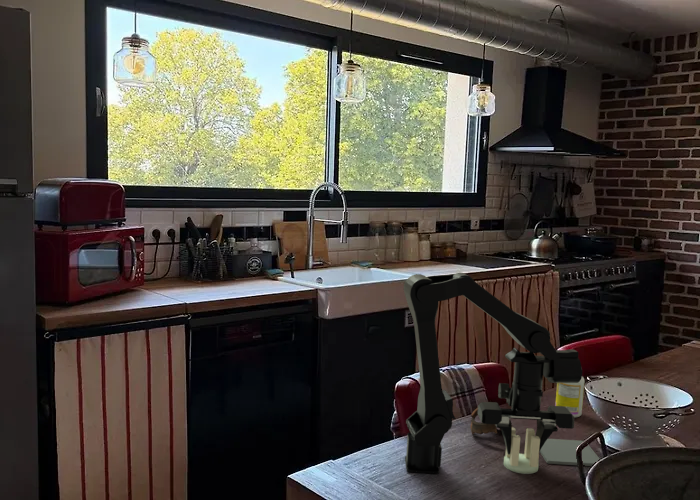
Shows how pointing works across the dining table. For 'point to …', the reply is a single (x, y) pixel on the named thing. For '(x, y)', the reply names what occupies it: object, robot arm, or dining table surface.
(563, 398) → the supplement bottle
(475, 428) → the brown curved piece
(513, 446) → the stool
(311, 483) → the dining table surface
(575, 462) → the mat
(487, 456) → the dining table surface
